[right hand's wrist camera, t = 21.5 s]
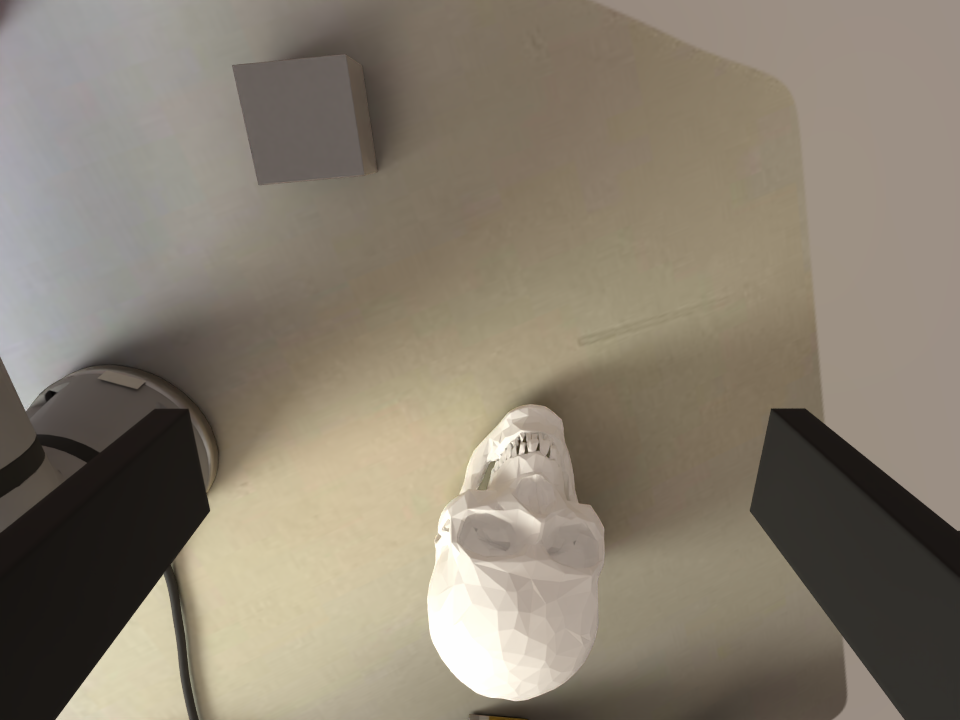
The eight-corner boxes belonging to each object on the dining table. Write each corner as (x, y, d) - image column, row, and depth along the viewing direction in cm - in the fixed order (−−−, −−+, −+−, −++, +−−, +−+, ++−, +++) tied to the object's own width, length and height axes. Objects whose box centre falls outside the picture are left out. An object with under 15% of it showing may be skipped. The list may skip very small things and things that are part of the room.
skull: (605, 399, 47) (654, 515, 32) (568, 600, 55) (594, 768, 40) (448, 384, 47) (425, 494, 32) (434, 588, 55) (410, 751, 40)
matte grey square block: (377, 172, 41) (364, 175, 36) (283, 180, 41) (258, 185, 36) (362, 65, 38) (345, 53, 33) (262, 75, 38) (231, 65, 34)
